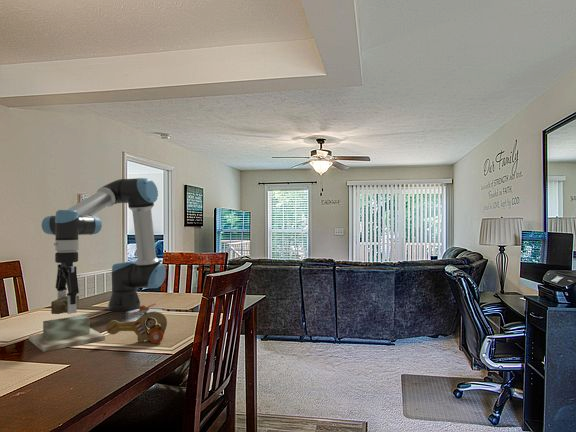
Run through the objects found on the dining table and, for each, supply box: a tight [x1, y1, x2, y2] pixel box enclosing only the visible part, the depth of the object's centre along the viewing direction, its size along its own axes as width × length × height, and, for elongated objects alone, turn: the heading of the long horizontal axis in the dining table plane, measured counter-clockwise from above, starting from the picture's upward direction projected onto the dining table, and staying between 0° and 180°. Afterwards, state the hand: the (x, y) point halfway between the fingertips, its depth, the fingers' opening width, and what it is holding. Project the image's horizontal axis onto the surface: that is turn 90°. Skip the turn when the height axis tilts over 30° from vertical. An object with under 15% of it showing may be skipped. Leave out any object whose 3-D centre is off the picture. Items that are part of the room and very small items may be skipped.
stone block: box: [50, 295, 80, 315], centre depth 152 cm, size 6×12×5 cm, turn 6°
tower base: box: [28, 314, 106, 353], centre depth 152 cm, size 20×20×8 cm
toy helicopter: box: [105, 302, 168, 344], centre depth 149 cm, size 8×21×14 cm, turn 102°
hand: (66, 310), depth 152 cm, fingers closed on stone block, 12 cm apart
